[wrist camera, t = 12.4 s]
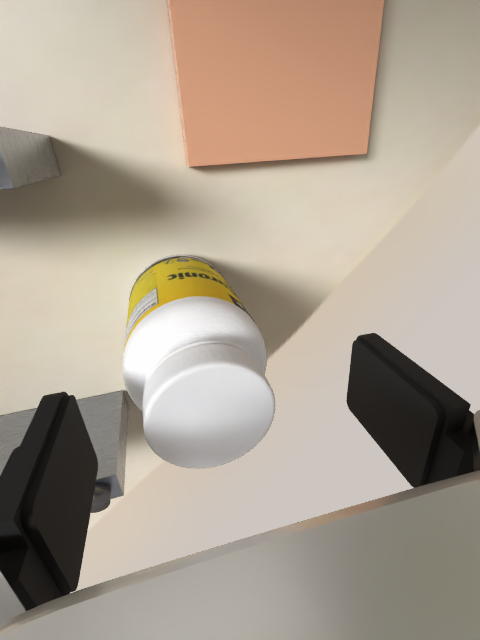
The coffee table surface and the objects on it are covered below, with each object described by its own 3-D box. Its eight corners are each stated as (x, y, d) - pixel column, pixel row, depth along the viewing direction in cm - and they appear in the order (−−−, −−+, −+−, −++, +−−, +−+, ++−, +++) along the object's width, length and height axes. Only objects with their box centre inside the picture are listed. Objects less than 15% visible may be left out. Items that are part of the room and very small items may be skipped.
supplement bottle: (246, 284, 19) (331, 388, 10) (194, 355, 20) (232, 502, 11) (163, 230, 16) (185, 308, 8) (110, 315, 17) (78, 464, 9)
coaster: (151, -128, 11) (152, -147, 10) (383, -102, 13) (397, -117, 12) (186, 165, 15) (189, 166, 15) (357, 153, 17) (366, 153, 16)
